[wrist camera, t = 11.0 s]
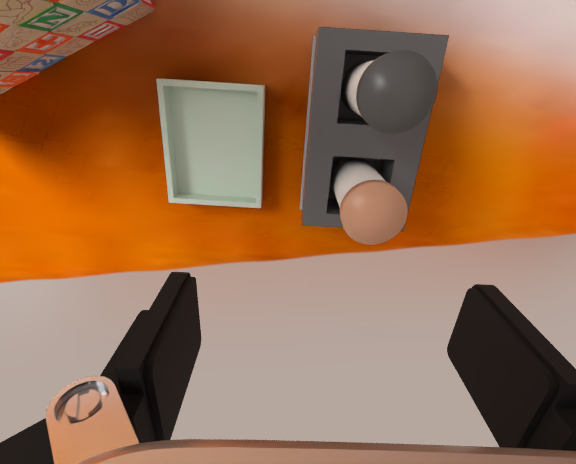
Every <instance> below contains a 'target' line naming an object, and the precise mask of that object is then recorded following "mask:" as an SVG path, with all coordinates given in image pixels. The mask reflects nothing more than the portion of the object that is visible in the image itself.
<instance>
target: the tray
mask: <svg viewBox="0 0 576 464" xmlns="http://www.w3.org/2000/svg"><path fill="white" fill-rule="evenodd" d="M156 83H157V92H158V102H159V112H160V121H161V131H162V141H163V150H164V160H165V170H166V179H167V189H168V199H169V203H184V204H200V205H217V206H233V207H249V208H261V205H262V202H263V167H264V130H265V93H266V85H257V84H242V83H227V82H211V81H196V80H180V79H165V78H162V79H156Z"/></svg>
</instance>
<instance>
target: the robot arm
mask: <svg viewBox="0 0 576 464" xmlns="http://www.w3.org/2000/svg"><path fill="white" fill-rule="evenodd" d="M200 345H201V330H200V319H199V308H198V297H197V286H196V278H195V277H191V276H190V273H186V272H185V273H184V272H171V274H170V275H169V277H168V279H167V280H166V282H165V284H164V285H163V287H162V289H161V290H160V292H159V294H158V296H157V297H156V299H155V301H154V302H153V304H152V306H151V308H150V309H149V310H143V311H141V312H140V313H139V314H138V316H137V317H136V319H135V321H134V322H133V324H132V325H131V327H130V329H129V330H128V332H127V333H126V335H125V337H124V338H123V340H122V342H121V343H120V345H119V346H118V348H117V350H116V351H115V353H114V354H113V356H112V358H111V359H110V361H109V362H108V364H107V366H106V367H105V369H104V370H103V372H102V374H101V375H100V376H91V377H85V378H82V379H80V380H77V381H75V382H73V383H71V384H70V385H68V386H66V387H65V388H63V389H62V390H61V391H60V392H59V393H57V394H56V396H55V397H54V398H53V399H52V401H51V402H50V404H49V406H48V408H47V410H46V418H45V419H43V420H41V421H39V422H38V423H36V424H34V425H32V426H30V427H28V428H27V429H25V430H23V431H21V432H19V433H17V434H16V435H14V436H12V437H10V438H8V439H6V440H5V441H3V442H1V443H0V464H576V369H575V368H574V367H573V366H572V365H571V364H570V363H569V362H568V361H567V360H566V359H565V358H564V357H563V356H562V355H561V353H560V352H559V351H558V350H557V349H556V348H555V347H554V346H553V345H552V344H550V342H549V341H548V340H547V339H546V338H545V337H544V336H543V335H542V334H541V333H540V332H539V331H538V330H537V329H536V328H535V327H534V326H533V325H532V323H531V322H530V321H529V320H528V319H527V318H526V317H525V316H524V315H523V314H522V313H521V312H520V311H519V310H518V309H517V308H516V307H515V306H514V305H513V304H512V303H511V302H510V301H509V300H508V299H507V298H506V297H505V296H504V295H503V294H502V293H501V292H500V291H499V289H498V288H496V287H495V286H493V285H478V284H476V285H474V286H473V287H472V288H470V289H468V291H467V292H466V295H465V298H464V301H463V304H462V307H461V310H460V312H459V315H458V318H457V321H456V324H455V327H454V329H453V332H452V335H451V338H450V341H449V344H448V347H447V352H448V356H449V358H450V360H451V362H452V363H453V365H454V367H455V369H456V370H457V372H458V374H459V376H460V378H461V379H462V381H463V382H464V385H465V386H466V388H467V390H468V392H469V393H470V395H471V397H472V399H473V400H474V402H475V404H476V406H477V407H478V409H479V411H480V413H481V415H482V416H483V418H484V420H485V422H486V424H487V425H488V427H489V429H490V431H491V432H492V434H493V436H494V438H495V440H496V441H497V443H498V445H499V447H475V446H448V445H447V446H445V445H418V444H388V443H355V442H354V443H353V442H352V443H351V442H319V441H279V440H278V441H277V440H222V439H221V440H220V439H219V440H218V439H217V440H216V439H215V440H212V439H211V440H210V439H186V440H170V439H171V436H172V432H173V429H174V426H175V423H176V420H177V417H178V414H179V411H180V408H181V405H182V401H183V398H184V395H185V392H186V389H187V386H188V383H189V380H190V377H191V374H192V370H193V368H194V364H195V361H196V358H197V355H198V352H199V349H200Z"/></svg>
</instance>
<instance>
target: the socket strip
mask: <svg viewBox="0 0 576 464" xmlns="http://www.w3.org/2000/svg"><path fill="white" fill-rule="evenodd" d="M448 38H449V35H435V34H420V33H405V32H390V31H375V30H360V29H345V28H330V27H319V28H318V30H317V32H316V34H315V35H313V44H312V56H311V69H310V82H309V94H308V107H307V120H306V132H305V145H304V157H303V170H302V183H301V195H300V210H301V212H302V225H305V226H321V227H337V228H343V225H342V222H341V219H340V207H339V205H338V202H337V199H336V196H335V193H334V190H333V187H332V184H331V181H330V178H331V169H332V166H333V165H334V163H335V162H336V161H337V160H338V159H339V158H341V157H357V158H365V159H366V160H367V161H368V162H369V163H370V164H371V165H372V166H373V167H374V169H375V170H376V171H377V172H378V173H379V174H380V175H381V176H382V178H383V179H384V180H385V181H386V182H388V183H390V184H391V185H393V186H394V187H395V188H396V189H397V190H398V191H399V192H400V193H401V194H402V195H403V197H404V199H405V201H406V203H407V209H408V210H409V205H410V201H411V197H412V193H413V188H414V184H415V180H416V175H417V171H418V167H419V162H420V158H421V154H422V150H423V145H424V141H425V137H426V132H427V128H428V124H429V120H430V115H431V111H432V109H431V110H430V112H429V114H428V115H427V116H426V117H425V119H424V120H423V121H422V122H421V123H419V124H418V125H417V126H415V127H414V128H412V129H410V130H408V131H405V132H402V133H396V134H390V133H384V132H381V131H379V130H377V129H375V128H373V127H372V126H370V125H369V124H368V123H367V122H366V121H365V120H364V119H363V118H362V117H361V116H360V115H358V114H356V113H355V112H353V111H351V110H350V109H348V108H347V107H346V105H345V104H344V102H343V100H342V97H341V84H342V80H343V78H344V76H345V74H346V73H347V72H348V71H349V70H350V69H351V68H352V67H353V66H355V65H357V64H359V63H363V62H367V61H372V60H375V59H377V58H378V57H380V56H382V55H384V54H387V53H390V52H394V51H399V50H409V51H413V52H417V53H419V54H421V55H422V56H424V57H425V58H426V59H427V60H428V61H429V62H430V64H431V65H432V67H433V69H434V71H435V74H436V77H437V85H438V81H439V77H440V72H441V68H442V64H443V59H444V55H445V51H446V47H447V42H448ZM405 223H406V222H405ZM404 227H405V224H404V226H403V228H402V229H401V231H402V232H403V231H404Z"/></svg>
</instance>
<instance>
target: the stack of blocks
mask: <svg viewBox="0 0 576 464" xmlns="http://www.w3.org/2000/svg"><path fill="white" fill-rule="evenodd" d="M155 9H156V8H155V6H154V4H153V2H152V0H0V94H2V93H4V92H6V91H8V90H9V89H11V88H13V87H14V86H17V85H19V84H21V83H22V82H24V81H26V80H28V79H30V78H32V77H34V76H35V75H37V74H39V73H40V71H42V70H44V69H46V68H48V67H49V66H51V65H53V64H55V63H57V62H59V61H61V60H62V59H64V58H66V57H67V56H69V55H71V54H73V53H75V52H76V51H78V50H80V49H82V48H84V47H85V46H87V45H89V44H91V43H93V42H94V41H98V40H100V39H102V38H104V37H106V36H108V35H110V34H111V33H113V32H115V31H117V30H119V29H121V28H123V27H124V26H126V25H129V24H131V23H133V22H134V21H136V20H138V19H140V18H142V17H144V16H146V15H147V14H149V13H151V12H153V11H155Z"/></svg>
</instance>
